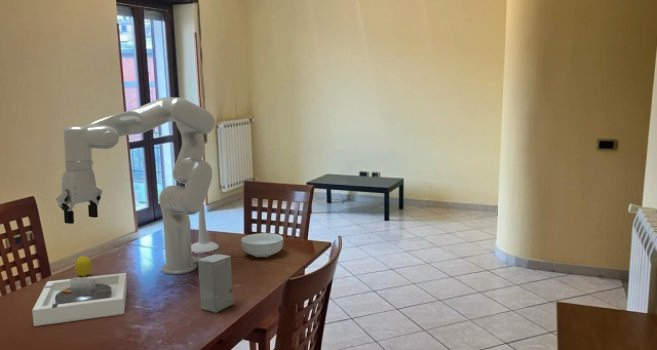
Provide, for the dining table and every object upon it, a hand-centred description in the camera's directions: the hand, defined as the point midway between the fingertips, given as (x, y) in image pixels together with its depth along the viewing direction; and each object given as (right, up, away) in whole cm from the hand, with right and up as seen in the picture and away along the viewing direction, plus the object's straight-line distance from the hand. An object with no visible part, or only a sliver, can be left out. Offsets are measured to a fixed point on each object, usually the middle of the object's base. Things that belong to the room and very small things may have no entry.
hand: (81, 220), depth 164 cm
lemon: (-10, -23, +24) cm, 35 cm away
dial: (+1, -24, -1) cm, 24 cm away
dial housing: (+1, -26, -1) cm, 26 cm away
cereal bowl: (+51, -18, +48) cm, 72 cm away
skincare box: (+43, -27, -3) cm, 51 cm away
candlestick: (+25, -17, +56) cm, 64 cm away
